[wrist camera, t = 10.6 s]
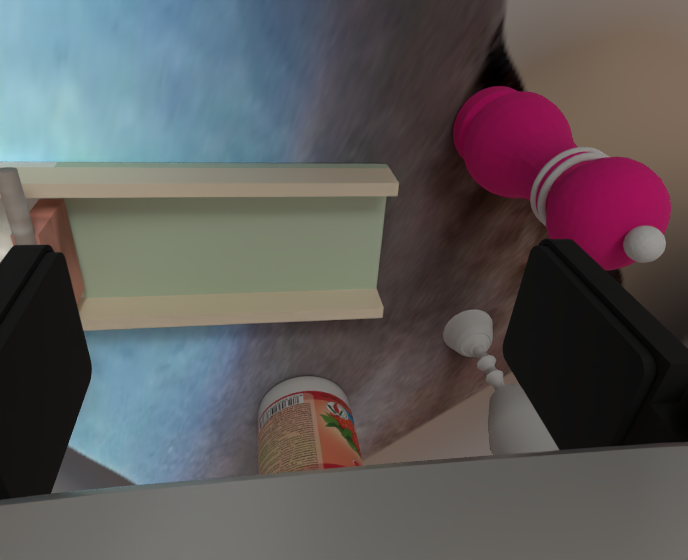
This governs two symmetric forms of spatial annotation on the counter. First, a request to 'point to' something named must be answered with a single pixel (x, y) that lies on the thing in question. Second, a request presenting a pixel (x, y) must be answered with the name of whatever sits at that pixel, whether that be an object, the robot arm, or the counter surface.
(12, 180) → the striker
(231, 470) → the counter surface
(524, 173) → the pepper mill
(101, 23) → the counter surface
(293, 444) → the fruit juice
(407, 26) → the counter surface
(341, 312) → the cream long tray
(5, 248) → the ball
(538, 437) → the chalice
